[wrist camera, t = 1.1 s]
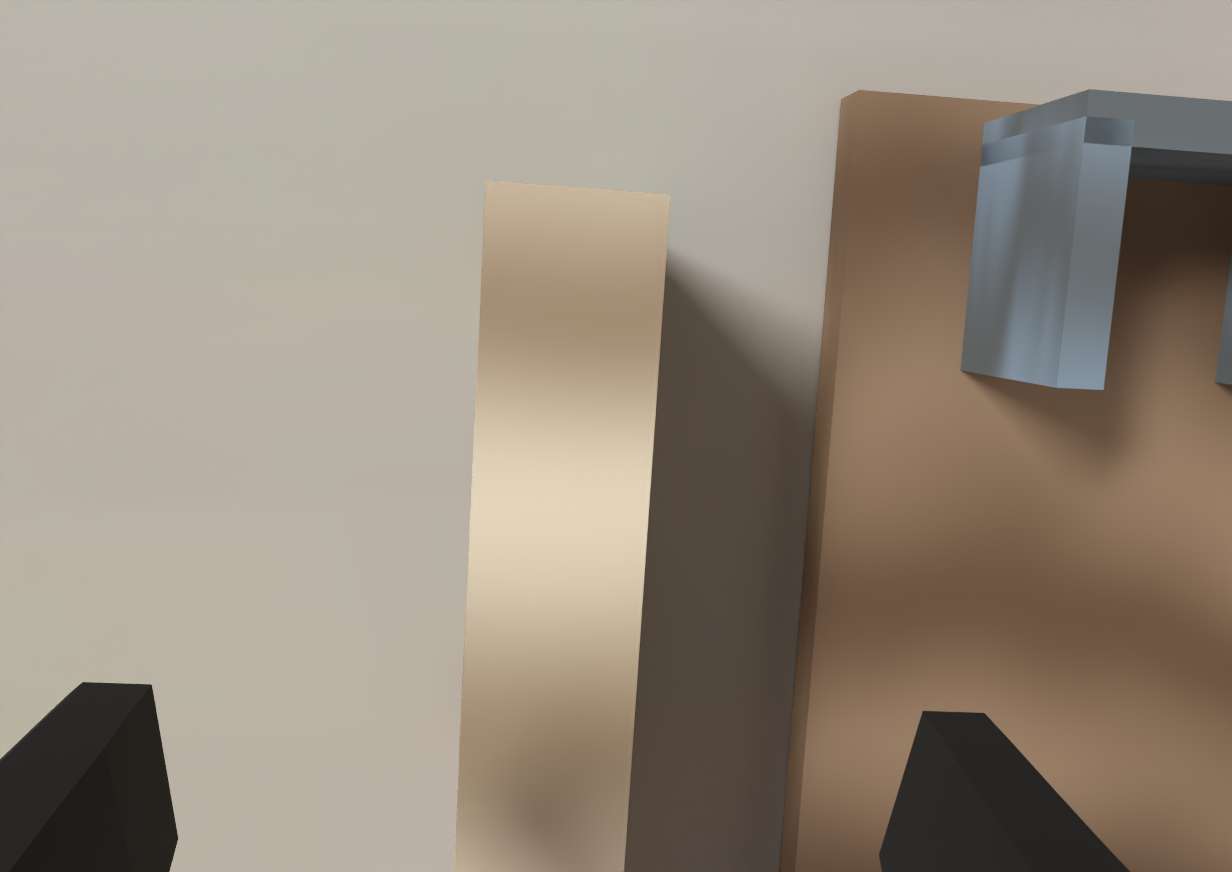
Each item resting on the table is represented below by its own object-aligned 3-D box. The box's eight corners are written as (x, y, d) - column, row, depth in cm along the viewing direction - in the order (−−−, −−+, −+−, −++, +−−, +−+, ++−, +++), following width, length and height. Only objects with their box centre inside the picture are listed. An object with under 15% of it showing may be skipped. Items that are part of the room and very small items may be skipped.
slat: (567, 989, 23) (598, 1238, 17) (447, 992, 22) (436, 1247, 16) (616, 220, 21) (670, 194, 15) (484, 210, 20) (486, 180, 14)
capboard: (1225, 1075, 25) (1386, 1247, 20) (761, 1096, 23) (827, 1285, 19) (1359, 141, 22) (1581, 105, 18) (841, 98, 21) (939, 49, 16)
